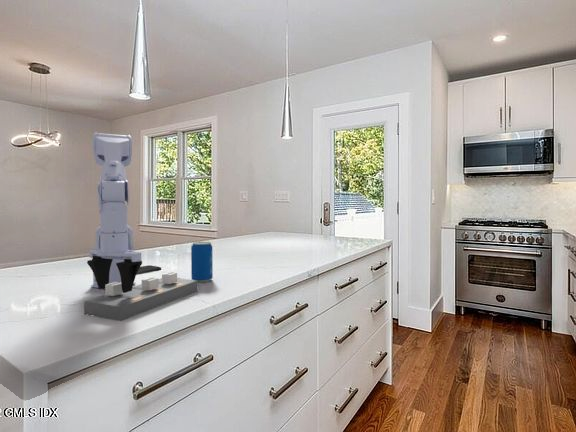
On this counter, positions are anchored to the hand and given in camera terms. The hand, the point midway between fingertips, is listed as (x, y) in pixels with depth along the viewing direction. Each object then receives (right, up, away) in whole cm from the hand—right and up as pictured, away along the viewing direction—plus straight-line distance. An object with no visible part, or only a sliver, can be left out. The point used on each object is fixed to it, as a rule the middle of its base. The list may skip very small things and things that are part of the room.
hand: (115, 289), depth 81 cm
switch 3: (+9, -1, +12) cm, 15 cm away
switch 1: (0, -1, 0) cm, 1 cm away
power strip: (+6, -4, +8) cm, 11 cm away
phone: (-13, -3, +41) cm, 43 cm away
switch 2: (+6, -1, +5) cm, 8 cm away
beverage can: (+13, -3, +28) cm, 31 cm away
